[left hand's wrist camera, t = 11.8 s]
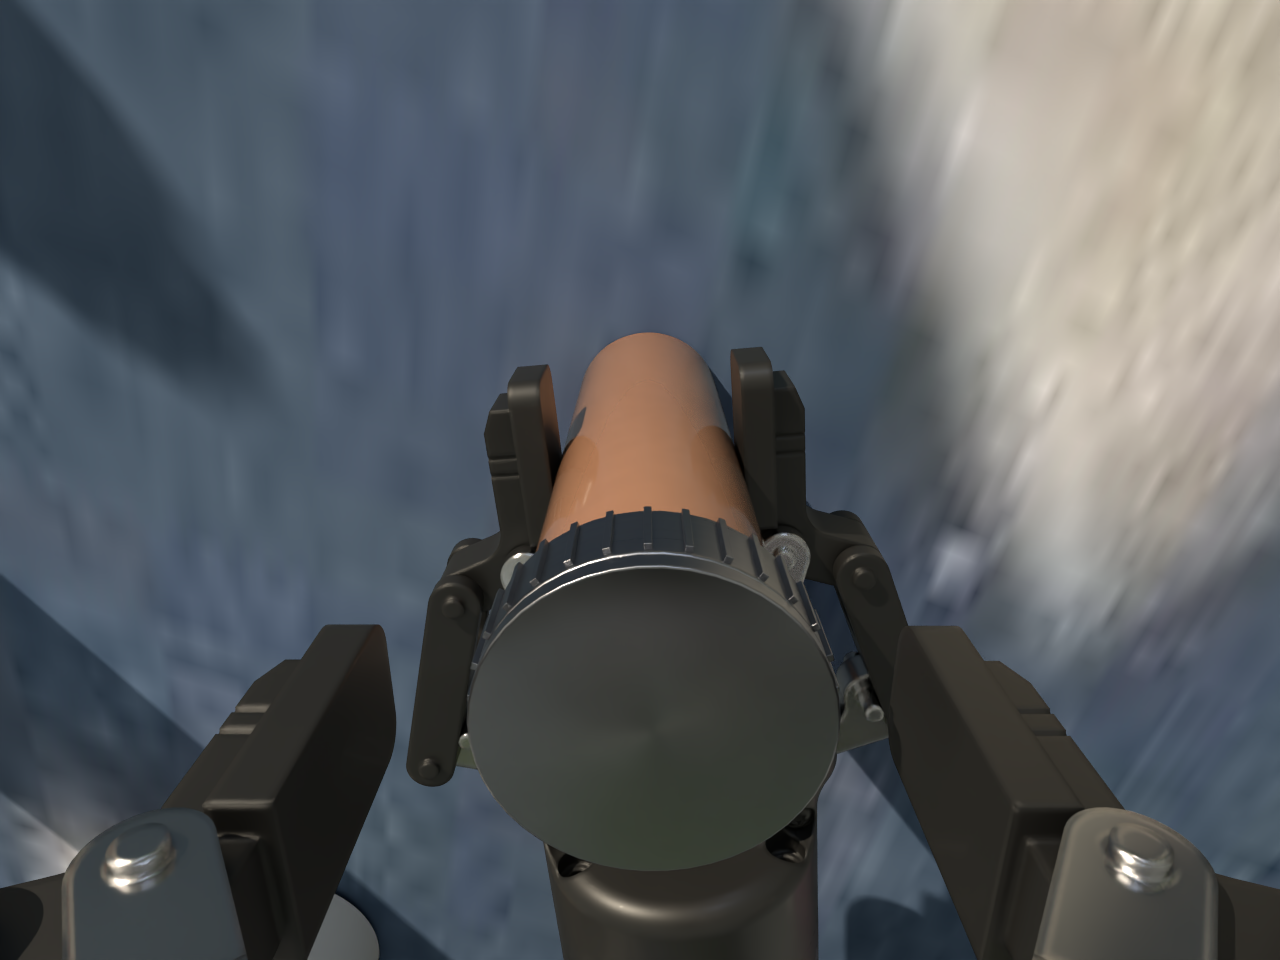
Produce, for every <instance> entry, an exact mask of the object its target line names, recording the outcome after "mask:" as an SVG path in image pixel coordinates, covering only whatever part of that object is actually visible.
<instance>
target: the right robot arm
mask: <svg viewBox="0 0 1280 960" xmlns="http://www.w3.org/2000/svg"><path fill="white" fill-rule="evenodd" d="M731 381H732V403H733V424H734V445H735V450H736V453H737V456H738V460H739V463H740V466H741V469H742V472H743V476H744V479H745V482H746V485H747V489H748V492H749V495H750V498H751V502H752V505H753V508H754V511H755V515H756V518H757V521H758V524H759V528H760V531H761V534H762V537H763V541H764V544H765V547H766V550H768V551H769V552H770V553H771V554H772V555H773V556H774V557H775V558H776V557H778V556H779V555H781V556H782V557H783V558H784V559H785V562H786V565H787V568H788V571H789V573H790V575H791V576H792V577H793V578H794V580H795V582H796V583H797V582H799V581H802V582H804V579H809V580H813V581H817V582H821V583H825V584H829V585H833V586H834V588H835V590H836V593H837V596H838V599H839V601H840V604H841V607H842V610H843V612H844V615H845V618H846V621H847V623H848V626H849V629H850V632H851V634H852V637H853V640H854V643H855V645H856V648H857V651H858V652H849V653H847V654H846V655H845V656H844V659H843V661H844V662H843V663H842V664H841V665H840V666H839V668H838V670H837V673H836V679H837V682H838V684H839V689H840V693H838V695H839V701H840V715H841V720H840V731H839V740H838V743H837V747H836V751H835V755H834V759H833V761H832V764H831V766H830V768H829V771H828V773H827V776H826V778H825V779H824V781H823V783H822V784H821V786H820V788H819V789H818V791H817V793H816V794H815V796H814V797H813V798H812V799H811V801H810V802H809V803H808V804H807V805H806V807H805V808H804V809H803V810H802V811H801V812H800V813H799V814H798V815H797V816H796V817H795V818H794V819H793V820H792V821H791V822H790V823H789V824H788V825H786V826H785V827H784V828H782V829H781V830H780V831H778V832H777V833H776V834H774V835H773V836H772V837H770V838H769V839H767V840H765V841H763V842H762V843H760V844H758V845H757V846H755V847H753V848H751V849H749V850H747V851H744V852H742V853H740V854H738V855H735V856H733V857H730V858H727V859H724V860H721V861H718V862H715V863H712V864H707V865H703V866H698V867H693V868H688V869H679V870H669V871H639V870H627V869H619V868H614V867H609V866H604V865H599V864H596V863H592V862H589V861H586V860H582V859H579V858H576V857H574V856H572V855H569V854H567V853H564V852H562V851H560V850H558V849H556V848H554V847H552V846H550V845H549V844H547V843H545V842H543V843H544V849H545V854H546V860H547V866H548V872H549V878H550V883H551V889H552V895H553V901H554V907H555V912H556V918H557V924H558V929H559V935H560V941H561V946H562V952H563V958H564V960H818V881H817V801H818V797H819V794H820V792H821V790H822V788H823V786H824V784H825V783H826V782H827V780H828V779H829V777H830V776H831V774H832V772H833V770H834V768H835V765H836V760H837V754H838V753H841V752H845V751H848V750H851V749H854V748H857V747H860V746H864V745H867V744H870V743H873V742H876V741H880V740H883V739H886V738H889V737H888V713H889V705H890V698H891V690H892V683H893V676H894V668H895V661H896V653H897V646H898V640H899V635H900V632H901V630H902V629H903V627H905V626H908V624H907V621H906V618H905V615H904V612H903V609H902V606H901V603H900V600H899V597H898V594H897V591H896V588H895V585H894V582H893V579H892V576H891V573H890V570H889V567H888V565H887V563H886V562H885V560H884V558H883V557H882V555H881V553H880V552H879V550H878V548H877V546H876V545H875V543H874V541H873V540H872V538H871V536H870V535H869V533H868V531H867V530H866V528H865V526H864V525H863V523H862V521H861V520H860V518H859V517H858V516H857V515H855V514H854V513H852V512H849V511H842V510H841V511H835V512H832V513H830V514H829V513H825V512H821V511H817V510H814V509H812V508H810V507H808V506H807V505H806V475H805V408H804V406H803V404H802V401H801V399H800V397H799V395H798V393H797V390H796V388H795V386H794V385H793V383H792V381H791V380H790V378H789V377H788V375H787V374H786V372H785V371H772V365H771V361H770V359H769V358H768V356H767V354H766V353H765V351H764V349H763V348H762V347H755V348H743V349H732V350H731ZM484 437H485V443H486V449H487V455H488V458H489V467H490V473H491V476H492V478H491V479H492V485H493V491H494V497H495V503H496V508H497V514H498V520H499V526H500V531H499V532H498V533H496V534H494V535H492V536H490V537H488V538H486V539H483V540H481V539H477V538H468V539H464V540H462V541H460V542H459V543H458V544H456V546H455V547H454V548H453V550H452V552H451V555H450V557H449V559H448V562H447V567H446V569H445V571H444V573H443V575H442V578H441V580H440V581H439V582H438V583H437V584H436V585H435V588H434V590H433V592H432V594H431V596H430V598H429V602H428V608H427V616H426V623H425V630H424V638H423V645H422V652H421V660H420V667H419V674H418V682H417V689H416V697H415V704H414V711H413V719H412V726H411V733H410V741H409V748H408V755H407V763H406V768H407V772H408V774H409V775H410V777H411V778H412V779H413V780H414V781H416V782H417V783H419V784H421V785H425V786H430V787H435V786H440V785H443V784H445V783H447V782H448V781H449V780H450V779H451V778H452V776H453V773H454V770H455V767H456V766H460V767H466V768H472V769H477V770H478V768H477V766H476V764H475V761H474V758H473V754H472V751H471V747H470V744H469V737H468V729H467V704H468V701H467V694H468V691H469V688H470V685H471V682H472V679H473V676H474V673H475V670H472V669H470V667H471V663H472V660H473V657H474V655H475V652H476V649H477V646H478V643H479V640H480V637H481V634H482V631H483V628H484V625H485V622H486V619H487V617H489V611H490V609H491V608H492V605H493V602H494V599H495V596H496V593H497V592H498V590H499V588H500V589H503V590H505V589H506V587H507V585H508V583H509V582H510V580H511V577H512V574H513V571H514V567H515V565H516V564H517V563H518V562H521V563H522V564H524V563H525V562H526V561H527V560H528V559H529V558H530V557H531V556H532V555H533V554H535V552H536V549H537V545H538V541H539V538H540V534H541V530H542V527H543V523H544V520H545V516H546V512H547V509H548V505H549V501H550V498H551V494H552V490H553V487H554V483H555V479H556V476H557V472H558V468H559V465H560V461H561V457H562V452H561V445H560V437H559V430H558V422H557V415H556V407H555V400H554V392H553V384H552V377H551V372H550V368H549V365H536V366H524V367H517V369H516V370H515V372H514V374H513V376H512V377H511V379H510V381H509V383H508V391H507V393H504V394H500V395H499V397H498V398H497V400H496V402H495V403H494V405H493V406H492V408H491V410H490V411H489V416H488V420H487V424H486V428H485V432H484Z"/></svg>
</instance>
